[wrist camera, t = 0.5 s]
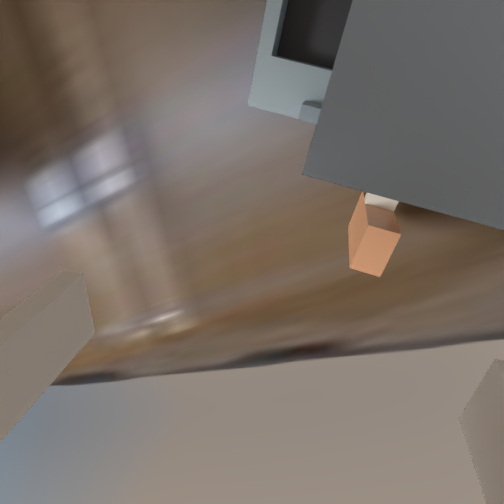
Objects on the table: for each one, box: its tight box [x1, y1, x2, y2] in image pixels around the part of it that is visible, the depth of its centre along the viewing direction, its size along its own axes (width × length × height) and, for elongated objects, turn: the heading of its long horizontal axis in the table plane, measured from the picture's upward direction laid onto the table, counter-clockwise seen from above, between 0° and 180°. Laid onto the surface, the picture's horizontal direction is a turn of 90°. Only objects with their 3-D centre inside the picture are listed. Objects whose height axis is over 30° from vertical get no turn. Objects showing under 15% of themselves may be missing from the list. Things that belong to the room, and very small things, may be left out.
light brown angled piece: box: [348, 191, 401, 277], centre depth 20 cm, size 8×20×6 cm, turn 168°
